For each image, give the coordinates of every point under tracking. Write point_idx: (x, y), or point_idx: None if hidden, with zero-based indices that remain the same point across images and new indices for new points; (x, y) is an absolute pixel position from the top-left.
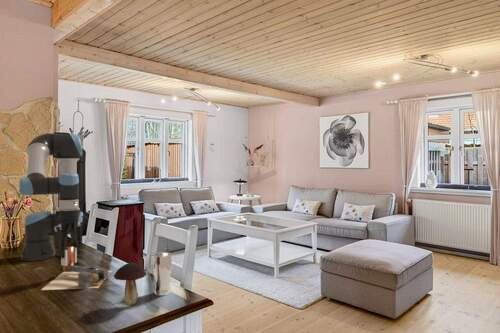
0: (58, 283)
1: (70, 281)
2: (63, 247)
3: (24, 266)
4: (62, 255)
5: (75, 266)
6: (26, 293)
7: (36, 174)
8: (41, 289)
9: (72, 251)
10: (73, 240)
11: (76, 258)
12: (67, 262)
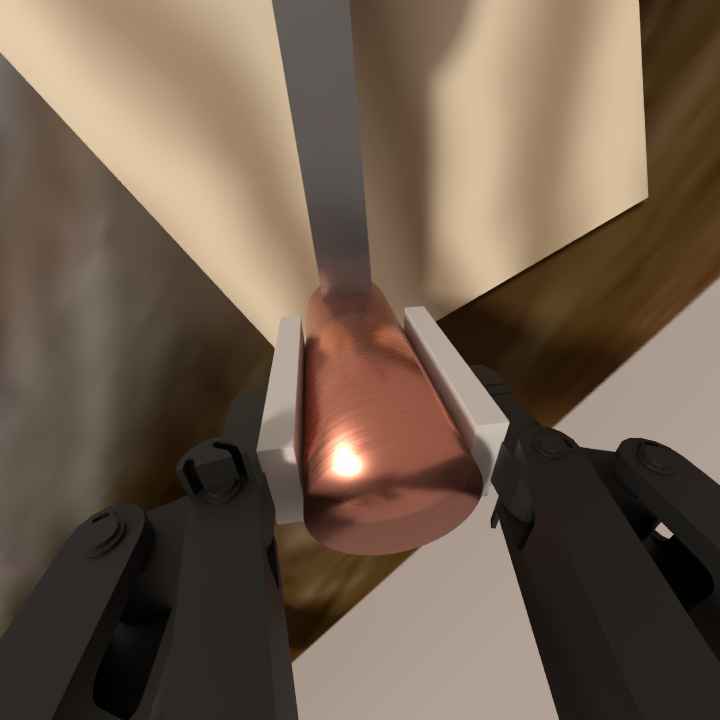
0: (510, 201)
1: (448, 142)
2: (593, 476)
3: (324, 576)
4: (501, 388)
5: (346, 244)
6: (611, 286)
7: None
8: (634, 203)
9: (373, 386)
10: (284, 662)
11: (280, 339)
12: (400, 329)
